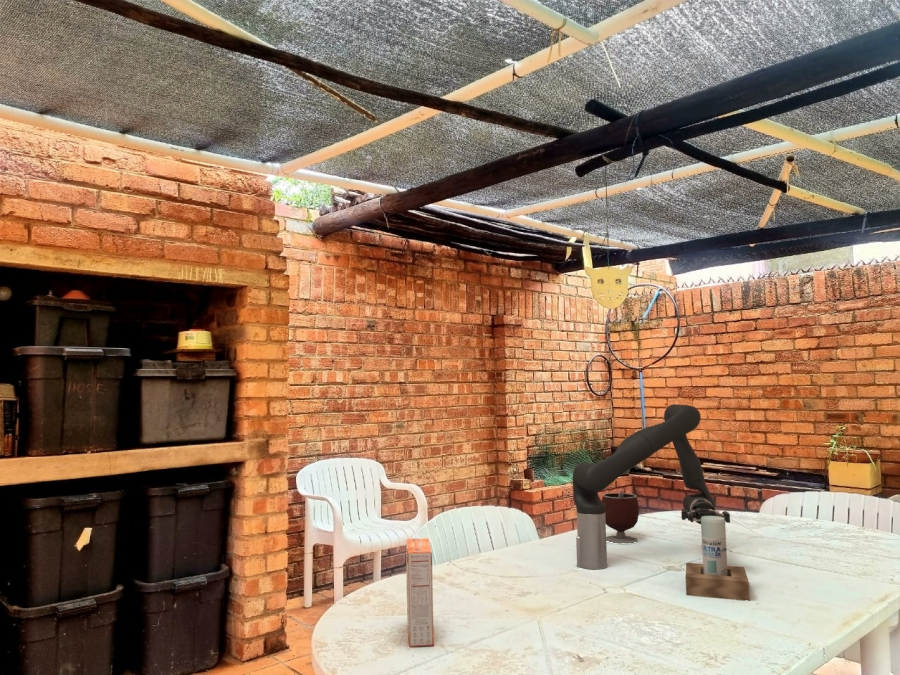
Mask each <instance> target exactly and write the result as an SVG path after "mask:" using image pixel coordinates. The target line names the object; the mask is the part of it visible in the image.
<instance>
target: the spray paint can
mask: <svg viewBox="0 0 900 675" xmlns="http://www.w3.org/2000/svg"><path fill="white" fill-rule="evenodd" d="M700 528H701V546H702V548H701V549H702V564H703V568H704V574H706V575H719V576H728V573H727V566H728V555H727V535H726V532H727V531H726V528H727V527H726V521H725V519H724V518H723V517H718V516H702V517H701V524H700Z"/></svg>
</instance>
